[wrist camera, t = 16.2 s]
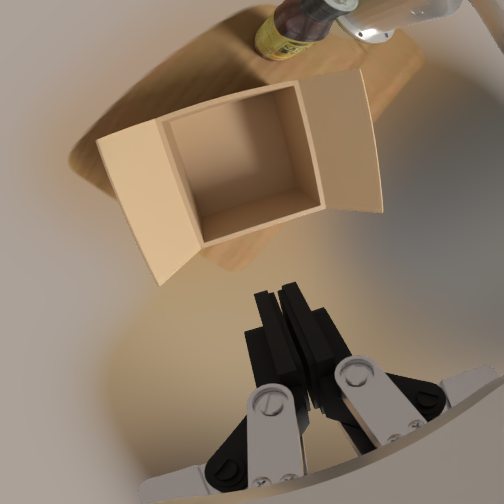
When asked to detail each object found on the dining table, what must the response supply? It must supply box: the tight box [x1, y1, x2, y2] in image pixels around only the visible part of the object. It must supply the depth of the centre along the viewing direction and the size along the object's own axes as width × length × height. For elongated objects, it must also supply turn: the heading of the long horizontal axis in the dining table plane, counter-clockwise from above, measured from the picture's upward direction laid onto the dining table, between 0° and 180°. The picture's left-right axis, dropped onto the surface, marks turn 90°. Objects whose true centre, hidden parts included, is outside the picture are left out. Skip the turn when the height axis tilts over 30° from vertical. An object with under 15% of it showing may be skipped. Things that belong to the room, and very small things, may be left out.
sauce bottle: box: [254, 0, 358, 61], centre depth 24 cm, size 6×6×20 cm
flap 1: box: [96, 119, 201, 287], centre depth 28 cm, size 7×16×1 cm
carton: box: [155, 80, 326, 249], centre depth 35 cm, size 16×16×10 cm
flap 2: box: [298, 69, 383, 213], centre depth 29 cm, size 7×16×1 cm
